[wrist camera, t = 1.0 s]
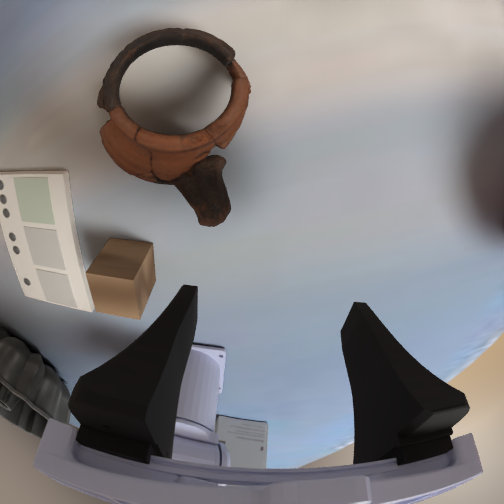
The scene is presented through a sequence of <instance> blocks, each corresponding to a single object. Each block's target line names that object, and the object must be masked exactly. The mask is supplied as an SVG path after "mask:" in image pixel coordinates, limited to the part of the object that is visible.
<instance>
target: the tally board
mask: <svg viewBox="0 0 504 504" xmlns="http://www.w3.org/2000/svg"><path fill="white" fill-rule="evenodd" d="M0 222H1V226H2V230H3V233H4V237H5V240H6V244H7V247H8V250H9V253H10V256H11V259H12V262H13V265H14V268H15V271H16V274H17V276H18V279H19V282H20V284H21V287H22V289H23V292H24V294H25V296H27V297H31V298H34V299H38V300H42V301H46V302H50V303H54V304H58V305H62V306H66V307H70V308H74V309H79V310H83V311H88V312H93V310H94V308H95V307H94V303H93V300H92V296H91V292H90V289H89V285H88V281H87V277H86V272H85V268H84V263H83V259H82V254H81V250H80V245H79V240H78V235H77V229H76V224H75V218H74V212H73V205H72V198H71V190H70V182H69V173H68V171H12V172H0Z"/></svg>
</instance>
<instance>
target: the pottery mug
mask: <svg viewBox="0 0 504 504" xmlns="http://www.w3.org/2000/svg"><path fill="white" fill-rule="evenodd" d="M168 45H185V46H191V47H196V48H199V49H202V50H204V51H206V52H208V53H210V54H211V55H213V56H214V57H216V58H217V59H218V60H219V61H220V62H221V63H222V64H223V65H224V66H226V67H227V69H228V71H229V73H230V75H231V77H232V80H233V82H232V85H231V97H230V101H229V103H228V105H227V107H226V109H225V110H224V112H223V113H222V114H221V115H220V116H219V117H218V118H217V119H216V120H215V121H214V122H212V123H211V124H209V125H208V126H207V127H205V128H204V129H202V130H198V131H196V132H193V133H189V134H182V135H164V134H159V133H154V132H151V131H149V130H146V129H144V128H142V127H141V126H139V125H138V124H137V123H135V122H134V121H133V120H132V119H131V118H130V117H129V116H128V115H127V113H126V112H125V110H124V108H123V107H122V105H121V102H120V97H119V88H120V84H121V80H122V77H123V75H124V73H125V71H126V70H127V68H128V67H129V66H130V64H131V63H132V62H134V61H135V60H136V59H137V58H138V57H140V56H141V55H143V54H144V53H146V52H148V51H150V50H152V49H155V48H158V47H162V46H168ZM234 57H235V51H234V50H233V48H232V47H230V46H229V45H228V44H227V43H225V42H224V41H222V40H221V39H218V38H217V37H215V36H213V35H212V34H209V33H206V32H203V31H201V30H195V29H181V28H168V29H164V30H159V31H154V32H151V33H148V34H146V35H144V36H141V37H139V38H137V39H136V40H134V41H133V42H132V43H130V44H128V45H127V46H126V47H125V49H124V50H123V51H121V52H120V53H119V55H118V56H117V57H116V58H115V60H114V61H113V62H112V63H111V65H110V68H109V69H108V71H107V73H106V76H105V78H104V79H103V86H102V88H101V89H100V91H99V96H98V100H97V105H98V106H99V108H103V109H105V110H106V111H107V112H109V115H110V117H111V119H110V120H109V121H107V122H106V124H105V125H104V126H103V127H102V128H101V130H100V134H101V137H102V143H103V145H104V147H105V149H106V151H107V152H108V154H109V155H110V156H111V158H112V159H113V160H114V162H115V163H116V164H117V165H118V166H119V167H120V168H121V169H123V170H124V171H126V172H127V173H129V174H130V175H134V176H136V177H138V178H140V179H143V180H145V181H149V182H153V183H157V184H168V185H175V186H176V187H177V189H178V190H179V191H180V192H181V193H182V195H183V196H184V197H185V199H186V200H187V202H188V203H189V205H190V206H191V207H192V208H193V209H194V211H195V213H196V215H197V217H198V221H199V224H200V225H203V226H208V227H211V226H213V227H214V226H217V225H219V224H220V223H222V222H224V221H225V219H226V217H227V216H228V214H229V213H230V211H231V204H230V200H229V197H228V194H227V190H226V187H225V184H224V181H223V178H222V169H223V168H224V166H225V164H226V160H225V158H223V157H221V156H219V155H210V156H208V157H206V156H207V155H208V154H209V153H210V150H211V149H212V148H213V147H214V146H218V147H219V148H221V149H225V148H226V147H227V146H228V144H229V143H230V141H231V140H232V138H233V137H234V135H235V133H236V131H237V130H238V128H239V127H240V125H241V123H242V120H243V118H244V114H245V111H246V109H247V106H248V99H249V94H250V93H251V90H250V87H251V86H250V82H249V80H248V78H247V76H246V74H245V72H244V71H243V69H242V68H241V66H240V65H239V64H238V63H237V62H236V60H235V59H234Z"/></svg>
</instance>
